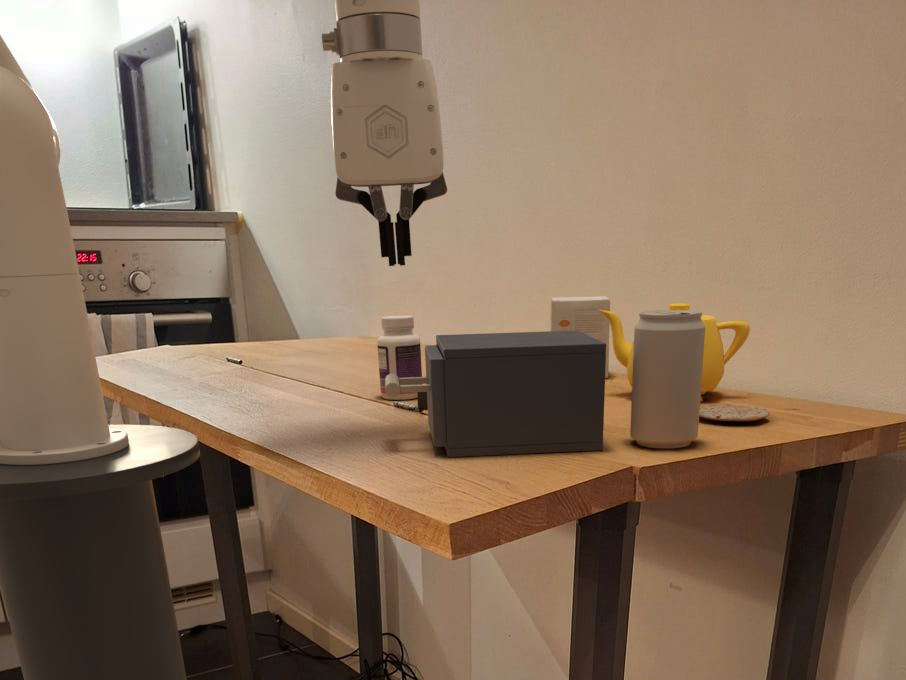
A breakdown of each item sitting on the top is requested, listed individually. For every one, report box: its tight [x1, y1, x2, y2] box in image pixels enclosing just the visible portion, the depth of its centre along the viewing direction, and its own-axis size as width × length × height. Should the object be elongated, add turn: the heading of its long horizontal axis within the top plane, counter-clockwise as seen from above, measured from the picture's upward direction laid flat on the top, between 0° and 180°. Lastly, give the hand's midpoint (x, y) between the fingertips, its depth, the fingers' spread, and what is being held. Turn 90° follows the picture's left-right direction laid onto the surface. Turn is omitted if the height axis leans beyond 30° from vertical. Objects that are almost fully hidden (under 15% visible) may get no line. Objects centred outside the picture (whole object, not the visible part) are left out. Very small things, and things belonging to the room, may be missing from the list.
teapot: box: [598, 302, 751, 402], centre depth 109 cm, size 18×11×11 cm, turn 74°
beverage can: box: [629, 309, 705, 449], centre depth 84 cm, size 6×6×12 cm
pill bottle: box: [376, 315, 423, 401], centre depth 114 cm, size 5×5×10 cm
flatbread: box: [699, 403, 771, 422], centre depth 97 cm, size 8×8×1 cm
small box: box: [549, 295, 611, 379], centre depth 126 cm, size 8×6×10 cm
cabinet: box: [435, 330, 606, 458], centre depth 88 cm, size 15×13×10 cm
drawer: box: [385, 344, 447, 448], centre depth 88 cm, size 18×11×8 cm, turn 96°
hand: (397, 264), depth 89 cm, fingers closed
